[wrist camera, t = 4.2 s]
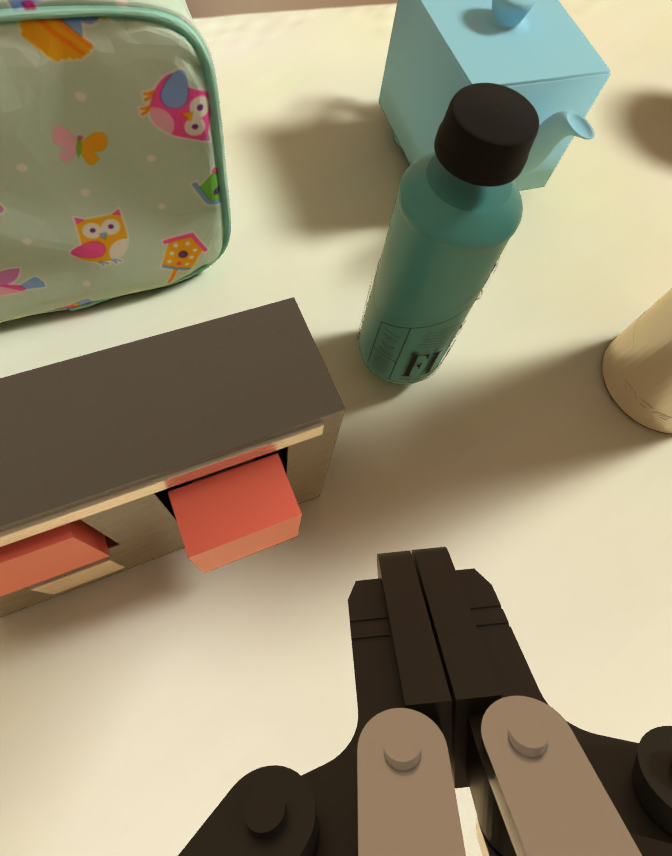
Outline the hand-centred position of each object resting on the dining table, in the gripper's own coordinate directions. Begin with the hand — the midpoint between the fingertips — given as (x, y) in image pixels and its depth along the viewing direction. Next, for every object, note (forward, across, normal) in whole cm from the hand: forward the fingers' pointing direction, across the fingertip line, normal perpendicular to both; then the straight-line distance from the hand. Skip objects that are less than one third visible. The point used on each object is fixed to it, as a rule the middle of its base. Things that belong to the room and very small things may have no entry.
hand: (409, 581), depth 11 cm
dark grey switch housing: (+19, +13, +10) cm, 25 cm away
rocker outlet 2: (+14, +7, +7) cm, 17 cm away
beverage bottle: (+29, -4, +5) cm, 30 cm away
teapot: (+44, -13, -7) cm, 47 cm away
